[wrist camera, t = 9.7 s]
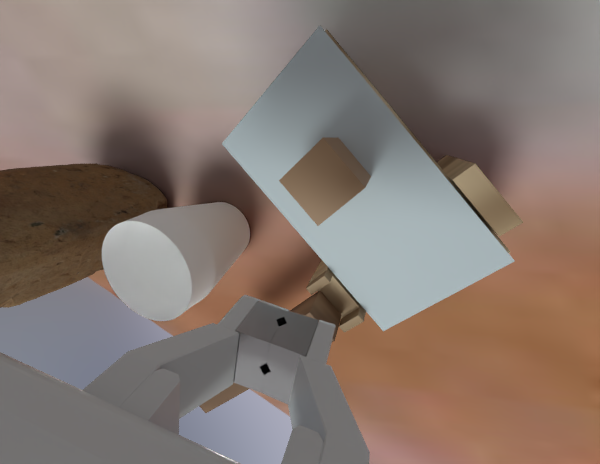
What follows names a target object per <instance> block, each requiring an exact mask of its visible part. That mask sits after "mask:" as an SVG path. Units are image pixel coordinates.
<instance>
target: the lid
mask: <svg viewBox="0 0 600 464" xmlns="http://www.w3.org/2000/svg"><path fill="white" fill-rule="evenodd" d="M222 144H223V146H224V147H225V148H226V149H227V150H228V151H229V153H230V154H231V155H232V156H233V157H234V158H235V160H236V161H237V162H238V163H239V164H240V165H241V167H242V168H243V169H244V170H245V171H246V172H247V174H248V175H249V176H250V177H251V178H252V179H253V180H254V182H255V183H256V184H257V185H258V186H259V187H260V189H261V190H262V191H263V192H264V193H265V194H266V196H267V197H268V198H269V199H270V200H271V201H272V203H273V204H274V205H275V206H276V207H277V208H278V209H279V211H280V212H281V213H282V214H283V215H284V216H285V218H286V219H287V220H288V221H289V222H290V223H291V225H292V226H293V227H294V228H295V229H296V230H297V232H298V233H299V234H300V235H301V236H302V237H303V238H304V240H305V241H306V242H307V243H308V244H309V245H310V247H311V248H312V249H313V250H314V251H315V252H316V254H317V255H318V256H319V257H320V258H321V259H322V261H323V262H324V263H325V264H326V265H327V266H328V268H329V269H330V270H331V271H332V272H333V273H334V274H335V276H336V277H337V278H338V279H339V280H340V281H341V283H342V284H343V285H344V286H345V287H346V288H347V290H348V291H349V292H350V293H351V294H352V295H353V297H354V298H355V299H356V300H357V301H358V302H359V303H360V305H361V306H362V307H363V308H364V309H365V310H366V312H367V313H368V314H369V315H370V316H371V317H372V319H373V320H374V321H375V322H376V323H377V324H378V326H379V327H380V328H381V329H382V330H383V331H384V330H386V329H388V328H390V327H392V326H394V325H396V324H398V323H399V322H401V321H403V320H405V319H407V318H409V317H411V316H413V315H415V314H416V313H418V312H420V311H422V310H424V309H426V308H428V307H430V306H431V305H433V304H435V303H437V302H439V301H441V300H443V299H445V298H446V297H448V296H450V295H452V294H454V293H456V292H458V291H460V290H461V289H463V288H465V287H467V286H469V285H471V284H473V283H475V282H477V281H478V280H480V279H482V278H484V277H486V276H488V275H490V274H492V273H493V272H495V271H497V270H499V269H501V268H503V267H505V266H507V265H508V264H510V263H512V262H514V260H513V258H512V257H511V256H510V255H509V254H508V252H507V251H506V250H505V249H504V247H503V246H502V245H501V244H500V243H499V241H498V240H497V239H496V238H495V237H494V235H493V234H492V233H491V232H490V231H489V229H488V228H487V227H486V226H485V224H484V223H483V222H482V221H481V220H480V218H479V217H478V216H477V215H476V214H475V212H474V211H473V210H472V209H471V208H470V206H469V205H468V204H467V203H466V201H465V200H464V199H463V198H462V197H461V195H460V194H459V193H458V192H457V191H456V189H455V188H454V187H453V186H452V185H451V183H450V182H449V181H448V180H447V178H446V177H445V176H444V175H443V174H442V172H441V171H440V170H439V169H438V168H437V166H436V165H435V164H434V163H433V162H432V160H431V159H430V158H429V157H428V155H427V154H426V153H425V152H424V151H423V149H422V148H421V147H420V146H419V145H418V143H417V142H416V141H415V140H414V139H413V137H412V136H411V135H410V134H409V132H408V131H407V130H406V129H405V128H404V126H403V125H402V124H401V123H400V122H399V120H398V119H397V118H396V117H395V116H394V114H393V113H392V112H391V111H390V109H389V108H388V107H387V106H386V105H385V103H384V102H383V101H382V100H381V99H380V97H379V96H378V95H377V94H376V93H375V91H374V90H373V89H372V88H371V86H370V85H369V84H368V83H367V82H366V80H365V79H364V78H363V77H362V76H361V74H360V73H359V72H358V71H357V70H356V68H355V67H354V66H353V65H352V63H351V62H350V61H349V60H348V59H347V57H346V56H345V55H344V54H343V53H342V51H341V50H340V49H339V48H338V47H337V45H336V44H335V43H334V42H333V40H332V39H331V38H330V37H329V36H328V34H327V33H326V32H325V31H324V30H323V28H322V27H321V26H319V27H318V28H317V29H316V30H315V32H314V33H313V34H312V35H311V37H310V38H309V39H308V40H307V41H306V43H305V44H304V45H303V46H302V47H301V49H300V50H299V51H298V52H297V53H296V55H295V56H294V57H293V58H292V60H291V61H290V62H289V63H288V64H287V66H286V67H285V68H284V69H283V70H282V72H281V73H280V74H279V75H278V76H277V78H276V79H275V80H274V81H273V82H272V84H271V85H270V86H269V87H268V89H267V90H266V91H265V92H264V93H263V95H262V96H261V97H260V98H259V99H258V101H257V102H256V103H255V104H254V105H253V107H252V108H251V109H250V110H249V111H248V113H247V114H246V115H245V116H244V118H243V119H242V120H241V121H240V122H239V124H238V125H237V126H236V127H235V128H234V130H233V131H232V132H231V133H230V134H229V136H228V137H227V138H226V139H225V141H224V142H223V143H222Z"/></svg>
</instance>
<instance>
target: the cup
mask: <svg viewBox="0 0 600 464" xmlns="http://www.w3.org/2000/svg"><path fill="white" fill-rule="evenodd" d="M249 240H250V228H249V225H248V222H247V220H246V218H245V216H244V215H243V214H242V213H241V211H240V210H238V209H237V208H236V207H234V206H233V205H231V204H228V203H224V202H216V203H207V204H199V205H190V206H182V207H173V208H165V209H158V210H152V211H149V212H146V213H144V214H142V215H139V216H137V217H134V218H132V219H129V220H126V221H124V222H121V223H119V224H117V225H115V226H114V227H112V228H111V229H110V230H109V232H108V233H107V235H106V236H105V239H104V241H103V245H102V263H103V268H104V271H105V274H106V277H107V279H108V281H109V283H110V285H111V287H112V289H113V290H114V292H115V293H116V294H117V296H118V297H119V298H120V299H121V300H122V301H123V303H125V304H126V305H127V306H128V307H129V308H130V309H132V310H133V311H134V312H136V313H137V314H139V315H141V316H143V317H145V318H148V319H151V320H155V321H168V320H172V319H175V318H177V317H178V316H180V315H181V314H182V313H184V312H185V311H186V310H188V309H189V308H190V307H192V306H193V305H195V304H196V303H198V302H199V301H201V300H202V299H204V298H205V297H206V296H207V295H208V294H209V293H210V291H211V290H212V289H213V288H214V287H215V285H216V284H217V283H218V282H219V281H220V279H221V278H222V277H223V276H224V274H225V273H226V272H227V271H228V270H229V268H230V267H231V266H232V265H233V263H234V262H235V261H236V260H237V259H238V257H239V256H240V255H241V254H242V252H243V251H244V250H245V249H246V247H247V246H248V243H249Z"/></svg>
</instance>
